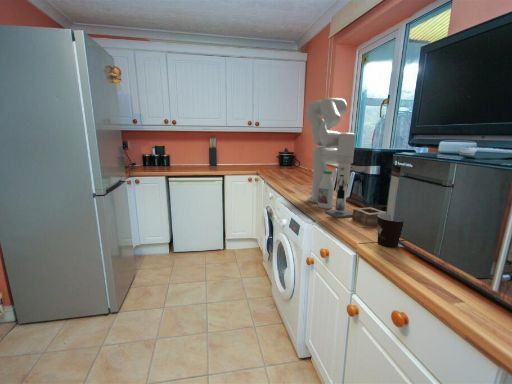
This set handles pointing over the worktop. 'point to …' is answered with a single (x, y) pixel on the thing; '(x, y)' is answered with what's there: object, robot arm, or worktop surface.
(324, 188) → the milk bottle
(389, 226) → the coffee mug
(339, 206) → the steel pin
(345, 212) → the rubber mat
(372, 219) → the open square box
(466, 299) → the worktop surface
